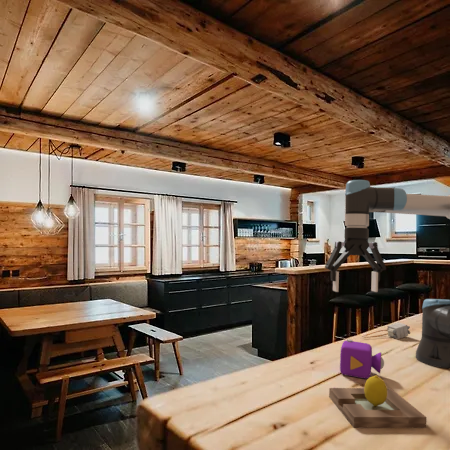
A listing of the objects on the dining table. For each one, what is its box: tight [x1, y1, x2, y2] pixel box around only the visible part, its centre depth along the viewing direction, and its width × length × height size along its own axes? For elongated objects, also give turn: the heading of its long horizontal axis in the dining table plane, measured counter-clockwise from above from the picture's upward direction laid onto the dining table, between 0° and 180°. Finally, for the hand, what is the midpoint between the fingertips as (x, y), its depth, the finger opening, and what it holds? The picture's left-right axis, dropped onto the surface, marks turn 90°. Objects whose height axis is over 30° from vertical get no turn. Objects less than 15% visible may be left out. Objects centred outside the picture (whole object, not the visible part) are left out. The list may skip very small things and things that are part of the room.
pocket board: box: [328, 387, 427, 429], centre depth 96 cm, size 18×16×2 cm
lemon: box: [363, 374, 388, 407], centre depth 96 cm, size 6×6×8 cm
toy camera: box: [339, 338, 385, 380], centre depth 122 cm, size 11×14×10 cm
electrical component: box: [361, 321, 411, 340], centre depth 166 cm, size 24×6×5 cm, turn 112°
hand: (355, 291), depth 123 cm, fingers open, 13 cm apart
